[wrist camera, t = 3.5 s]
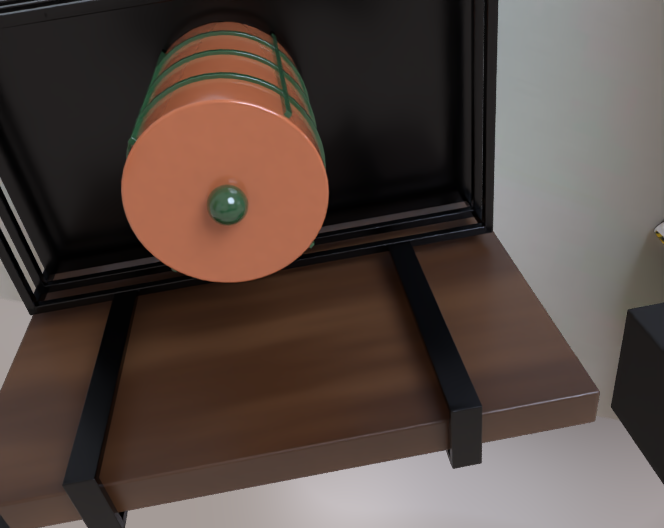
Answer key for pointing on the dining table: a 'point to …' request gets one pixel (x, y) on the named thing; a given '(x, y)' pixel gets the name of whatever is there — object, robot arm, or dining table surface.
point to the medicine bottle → (660, 232)
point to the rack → (281, 375)
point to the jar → (225, 158)
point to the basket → (333, 127)
